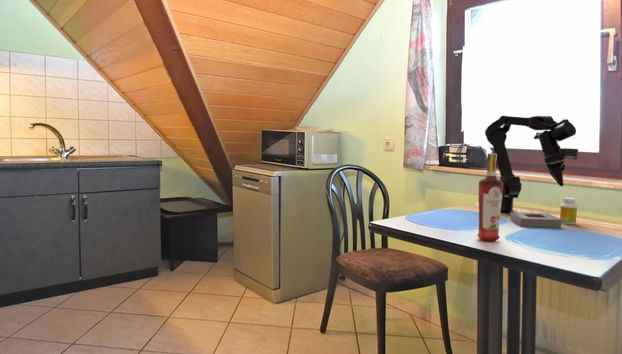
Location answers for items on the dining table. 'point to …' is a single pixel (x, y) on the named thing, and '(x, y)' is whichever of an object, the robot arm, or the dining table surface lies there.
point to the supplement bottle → (568, 211)
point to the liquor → (490, 203)
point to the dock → (535, 219)
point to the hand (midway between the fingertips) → (561, 184)
